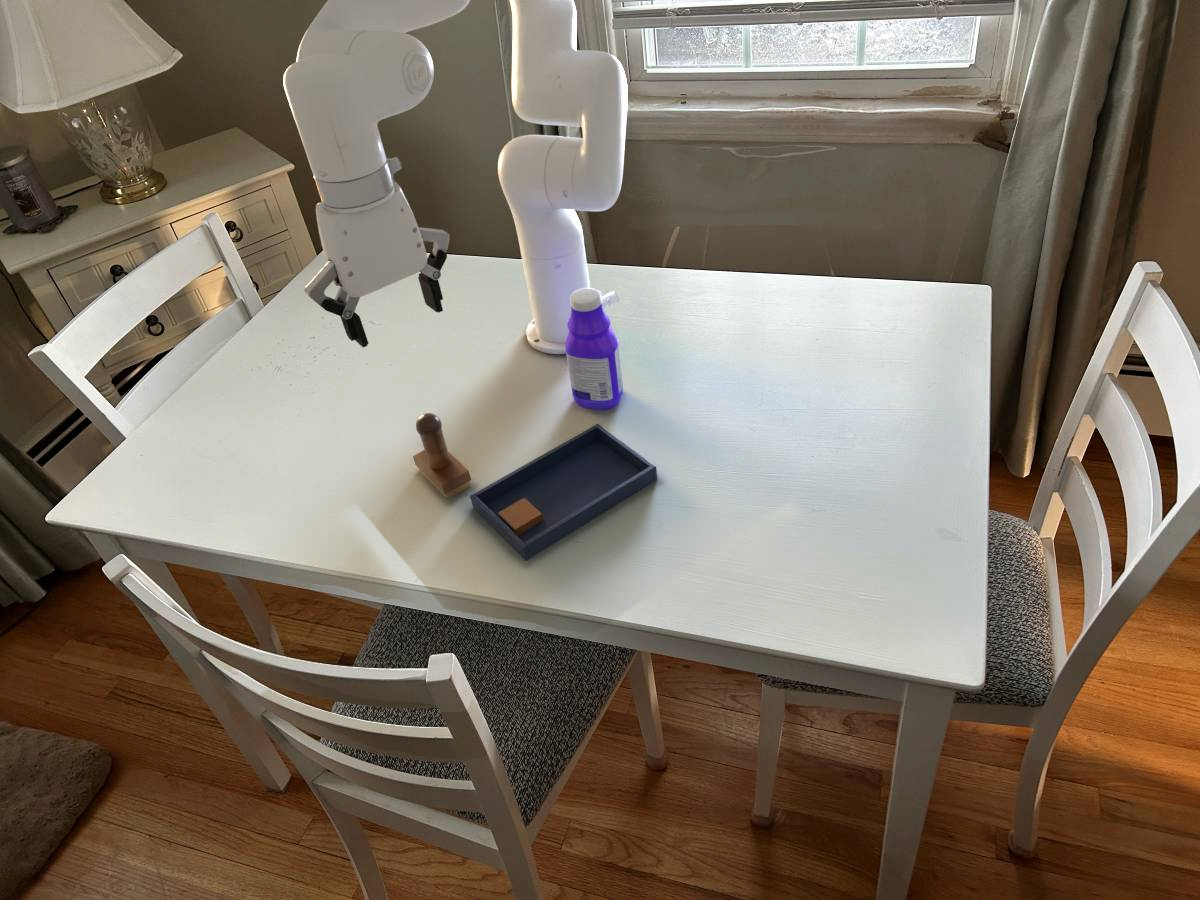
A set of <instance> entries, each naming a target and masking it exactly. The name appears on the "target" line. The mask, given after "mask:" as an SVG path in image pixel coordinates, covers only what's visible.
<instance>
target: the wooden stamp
mask: <svg viewBox="0 0 1200 900" xmlns="http://www.w3.org/2000/svg"><path fill="white" fill-rule="evenodd" d="M442 428H443V424H442V421H441V419H440V417H439V416H438V415H436V414H435V413H432V412H425V413H423V414H421V415H419V417H418V418H417V420H416V423H415V429H416V432H417V433H418V435H419V437H420V440H421V443H422V446H423V449H424V450H421V451H420V452H417V453H416V454H413V455H412V459H413V462H414V465H415V466H416V467H417V468H418V470H419V472H420V474H422V475H423V477H425V478H426V479H427V480H428V481H429V482H430V484H432V485H433V486H434V487H435V488H436V489H437V490H438V491H439V492H440V494H442V496H443V497H445V499H447V500H448V499H450V498H452V497H454V496H455V495H457V494H459V493H461V492H462V491H463V492H464V490H466V489H468V488H470V487H471V486H472V485H471V482H470V481H472V477H471V474H470V471H469V470H468V469H467V467H465V466H464V464H462V463H461V462H460V461H459V460H458V459H457V458H456V457H455V456H454V455H453V454H452V453H451V452H449V450H448V446H447V443H446V439H445V436H444V433H443V430H442Z"/></svg>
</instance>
